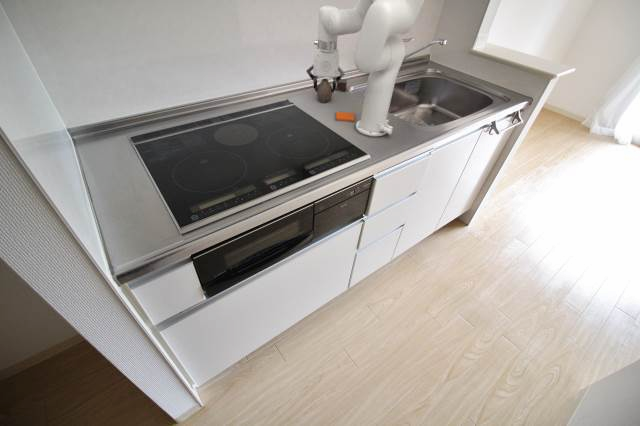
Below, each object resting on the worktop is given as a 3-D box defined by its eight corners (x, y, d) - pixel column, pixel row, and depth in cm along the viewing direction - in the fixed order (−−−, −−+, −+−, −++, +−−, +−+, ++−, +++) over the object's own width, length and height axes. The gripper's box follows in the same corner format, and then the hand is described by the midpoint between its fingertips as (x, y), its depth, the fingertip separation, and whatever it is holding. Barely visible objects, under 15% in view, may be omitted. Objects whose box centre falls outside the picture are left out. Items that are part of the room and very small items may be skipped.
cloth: (353, 114, 120) (353, 113, 119) (354, 121, 115) (354, 119, 115) (336, 113, 120) (336, 111, 119) (336, 120, 115) (336, 118, 115)
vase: (331, 103, 125) (333, 83, 119) (315, 102, 125) (316, 82, 119) (331, 97, 130) (333, 77, 124) (316, 96, 130) (317, 76, 124)
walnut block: (345, 87, 140) (346, 79, 138) (345, 91, 137) (346, 82, 135) (336, 87, 140) (337, 78, 138) (336, 90, 137) (337, 82, 135)
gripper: (304, 45, 110) (303, 92, 122) (349, 49, 110) (344, 95, 122) (306, 40, 115) (305, 86, 128) (349, 44, 115) (344, 89, 128)
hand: (324, 90), depth 125 cm, fingers closed on vase, 6 cm apart
